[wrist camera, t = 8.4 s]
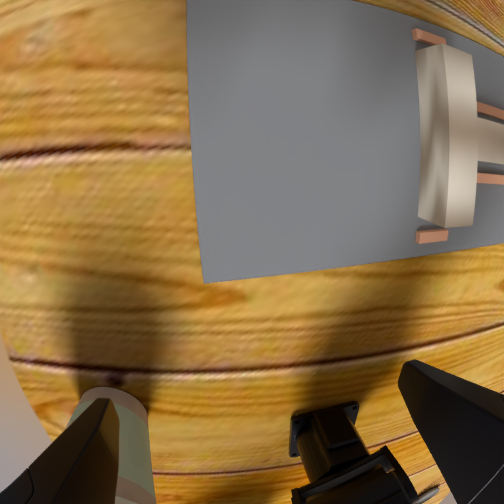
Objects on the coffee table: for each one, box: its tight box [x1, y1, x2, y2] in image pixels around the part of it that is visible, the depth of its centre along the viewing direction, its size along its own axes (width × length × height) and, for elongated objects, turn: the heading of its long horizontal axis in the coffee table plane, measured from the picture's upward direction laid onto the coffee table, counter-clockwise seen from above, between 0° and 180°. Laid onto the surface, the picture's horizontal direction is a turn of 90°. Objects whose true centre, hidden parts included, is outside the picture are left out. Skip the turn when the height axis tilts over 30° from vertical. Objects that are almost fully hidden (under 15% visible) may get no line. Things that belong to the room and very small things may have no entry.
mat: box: [187, 0, 504, 283], centre depth 18 cm, size 18×28×1 cm, turn 93°
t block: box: [415, 43, 504, 228], centre depth 18 cm, size 12×11×3 cm
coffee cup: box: [66, 387, 156, 504], centre depth 16 cm, size 8×9×12 cm
